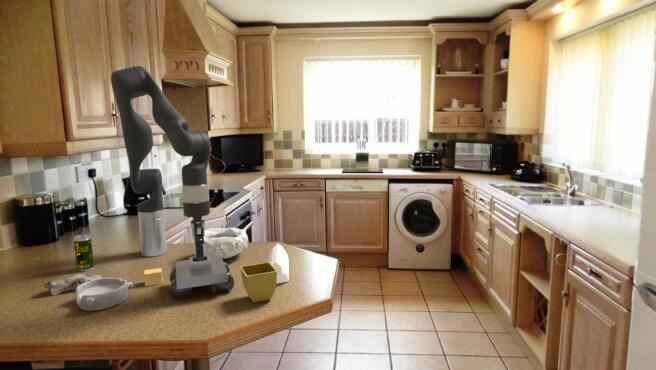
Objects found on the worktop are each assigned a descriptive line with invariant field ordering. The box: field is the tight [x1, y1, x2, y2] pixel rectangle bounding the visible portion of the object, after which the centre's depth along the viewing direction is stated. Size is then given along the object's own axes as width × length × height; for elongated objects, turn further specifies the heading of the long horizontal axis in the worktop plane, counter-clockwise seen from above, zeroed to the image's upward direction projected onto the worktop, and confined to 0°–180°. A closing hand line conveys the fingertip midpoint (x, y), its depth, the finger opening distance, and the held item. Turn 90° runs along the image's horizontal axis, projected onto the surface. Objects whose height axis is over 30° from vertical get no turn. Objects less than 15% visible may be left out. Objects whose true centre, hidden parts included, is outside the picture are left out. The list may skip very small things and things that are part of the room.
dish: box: [75, 276, 133, 312], centre depth 118 cm, size 14×14×5 cm
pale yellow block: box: [143, 267, 163, 287], centre depth 131 cm, size 4×5×4 cm
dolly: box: [169, 255, 235, 301], centre depth 125 cm, size 16×18×10 cm
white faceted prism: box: [267, 243, 290, 285], centre depth 138 cm, size 7×7×24 cm
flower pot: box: [239, 261, 277, 304], centre depth 117 cm, size 9×9×9 cm
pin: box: [191, 232, 205, 261], centre depth 124 cm, size 4×4×11 cm
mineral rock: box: [43, 272, 103, 296], centre depth 128 cm, size 15×8×4 cm, turn 119°
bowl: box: [192, 226, 250, 260], centre depth 154 cm, size 21×20×10 cm
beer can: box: [73, 233, 95, 273], centre depth 143 cm, size 5×5×12 cm
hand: (199, 255), depth 124 cm, fingers open, 3 cm apart
